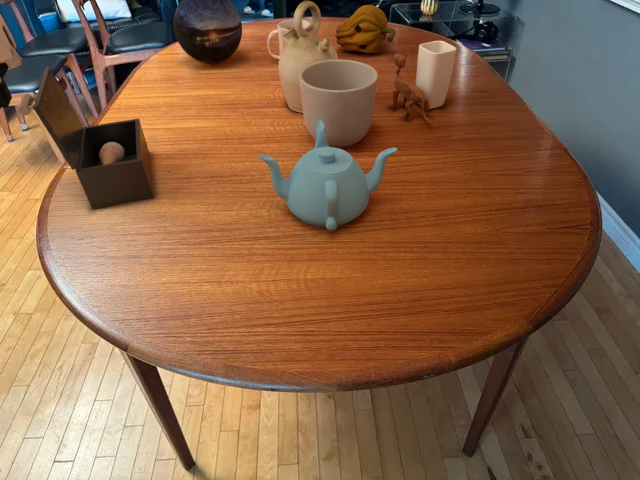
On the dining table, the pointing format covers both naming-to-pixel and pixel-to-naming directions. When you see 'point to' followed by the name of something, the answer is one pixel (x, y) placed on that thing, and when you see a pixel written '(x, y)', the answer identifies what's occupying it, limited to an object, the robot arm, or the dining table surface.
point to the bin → (114, 165)
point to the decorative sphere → (208, 29)
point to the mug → (282, 40)
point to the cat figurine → (408, 91)
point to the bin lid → (56, 116)
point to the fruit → (364, 31)
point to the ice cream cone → (111, 153)
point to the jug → (302, 53)
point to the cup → (435, 71)
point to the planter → (338, 99)
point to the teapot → (327, 183)
